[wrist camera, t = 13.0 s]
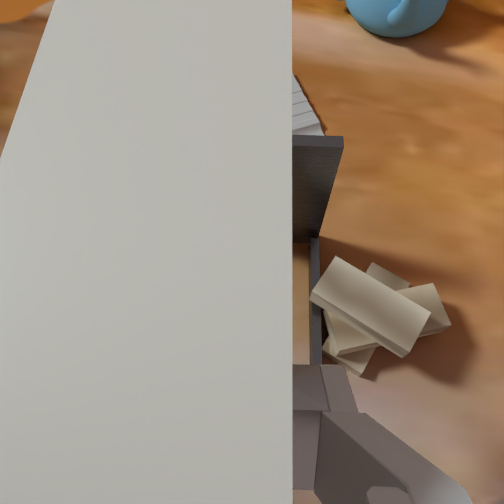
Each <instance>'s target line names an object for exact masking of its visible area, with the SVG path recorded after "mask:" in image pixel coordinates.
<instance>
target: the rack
mask: <svg viewBox="0 0 504 504" xmlns="http://www.w3.org/2000/svg"><path fill="white" fill-rule="evenodd" d="M343 148H344V142H343V136H320V135H292V242H299V243H309V247H308V250H309V298H310V295H311V292H312V290H313V289H314V287H315V286H316V284H317V283H318V281H319V280H320V253H319V238H318V236H319V232H320V229H321V225H322V222H323V218H324V215H325V211H326V208H327V204H328V201H329V197H330V194H331V190H332V187H333V183H334V180H335V176H336V173H337V169H338V166H339V162H340V159H341V155H342V152H343ZM309 329H310V365H322V335H321V307H320V306H318V305H317V304H315V303H313V302H312V301H310V300H309Z"/></svg>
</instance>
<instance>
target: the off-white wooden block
mask: <svg viewBox="0 0 504 504" xmlns="http://www.w3.org/2000/svg"><path fill="white" fill-rule="evenodd" d="M0 504H293V460H292V0H55V2H54V5H53V8H52V11H51V13H50V16H49V19H48V22H47V25H46V28H45V31H44V34H43V37H42V39H41V42H40V45H39V48H38V51H37V54H36V57H35V60H34V63H33V65H32V68H31V71H30V74H29V77H28V80H27V83H26V86H25V89H24V91H23V94H22V97H21V100H20V103H19V106H18V109H17V112H16V115H15V118H14V120H13V123H12V126H11V129H10V132H9V135H8V138H7V141H6V144H5V146H4V149H3V152H2V155H1V158H0Z"/></svg>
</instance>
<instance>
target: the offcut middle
mask: <svg viewBox="0 0 504 504" xmlns="http://www.w3.org/2000/svg"><path fill="white" fill-rule="evenodd" d="M396 292H398V293H399V294H401V295H403V296H404V297H406V298H408V299H409V300H411V301H413V302H414V303H416V304H418V305H420V306H421V307H423V308H425V309H426V310H428V311H430V312H431V314H430V315H429V317H428V319H427V321H426V323H425V325H424V327H423V328H422V330H421V332H420V334H419V336H418V337H422V336H427V335H431V334H435V333H440V332H443V331H444V330H446V329H447V328H448V327H450V326H451V323H450V320H449V318H448V316H447V313H446V311H445V309H444V307H443V304H442V302H441V300H440V297H439V295H438V293H437V290H436V288H435V286H434V284H433V283H430V284H425V285H421V286H416V287H411V288H407V289H402V290H397V291H396ZM322 314H323V317H324V320H325V323H326V326H327V330H328V333H329V336H330V339H331V343H332V346H333V349H334V352H335V356H339V355H343V354H348V353H352V352H356V351H361V350H365V349H370V348H374V347H378V346H382V345H380V344H378V343H377V342H375V341H374V340H372V339H371V338H369V337H367V336H366V335H364V334H363V333H361V332H359V331H358V330H356V329H355V328H353V327H352V326H350V325H348V324H347V323H345V322H344V321H342V320H340V319H339V318H337V317H336V316H334V315H332V314H331V313H329V312H328V311H326V310H325V309H324V311H323V313H322Z"/></svg>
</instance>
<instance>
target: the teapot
mask: <svg viewBox="0 0 504 504" xmlns="http://www.w3.org/2000/svg"><path fill="white" fill-rule="evenodd" d="M339 1H342V0H339ZM345 1H346V5H347V8H348V10H349V11H350V13H351V15H352V16H353V18H354V19H355V20H356V21H357V23H358V24H359V25H360V26H362V27H363V28H364V29H366V30H368V31H370V32H372V33H374V34H377V35H380V36H384V37H392V38H401V37H408V36H412V35H415V34H417V33H420V32H422V31H424V30H426V29H428V28H429V27H431V26H432V25H434V24H435V23H436V22H437V21H438V20H439V19H440V17H441V16H442V14H443V12H444V10H445V7H446V4H447V2H448V1H449V0H345Z"/></svg>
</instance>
